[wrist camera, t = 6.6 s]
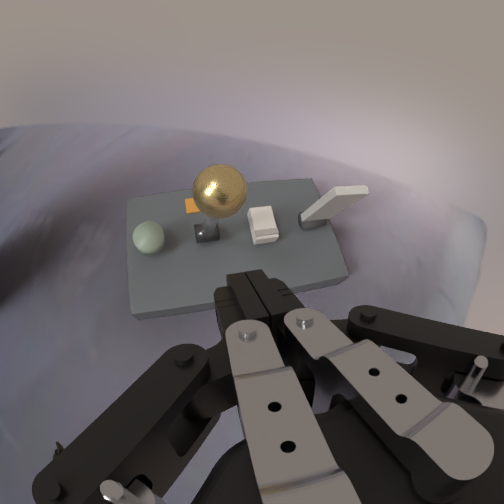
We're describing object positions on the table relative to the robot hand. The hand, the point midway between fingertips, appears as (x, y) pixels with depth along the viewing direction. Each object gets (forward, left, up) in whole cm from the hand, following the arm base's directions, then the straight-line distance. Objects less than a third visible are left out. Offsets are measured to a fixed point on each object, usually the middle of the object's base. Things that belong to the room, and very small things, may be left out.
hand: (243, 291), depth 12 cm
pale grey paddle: (-1, +16, -14) cm, 21 cm away
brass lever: (-9, +6, -14) cm, 17 cm away
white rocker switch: (-5, +11, -14) cm, 18 cm away
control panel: (-7, +9, -18) cm, 21 cm away
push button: (-12, +2, -15) cm, 20 cm away
